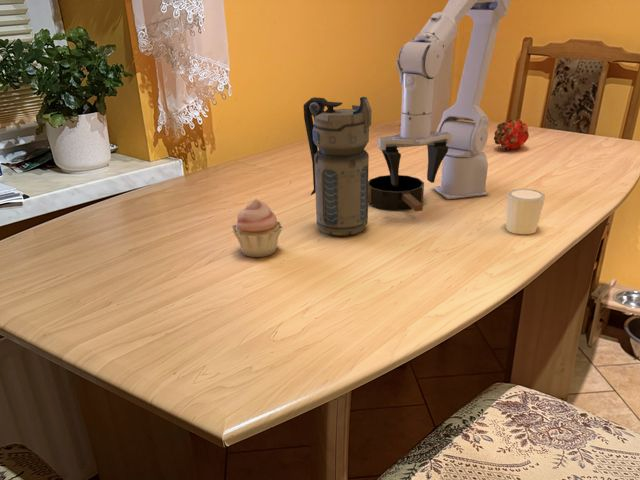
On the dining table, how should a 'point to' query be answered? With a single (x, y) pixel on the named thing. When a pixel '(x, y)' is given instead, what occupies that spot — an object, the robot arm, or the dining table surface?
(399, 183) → the skillet
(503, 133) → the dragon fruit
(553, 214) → the dining table surface
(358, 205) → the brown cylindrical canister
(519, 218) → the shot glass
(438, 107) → the cylinder vase
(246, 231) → the cupcake
